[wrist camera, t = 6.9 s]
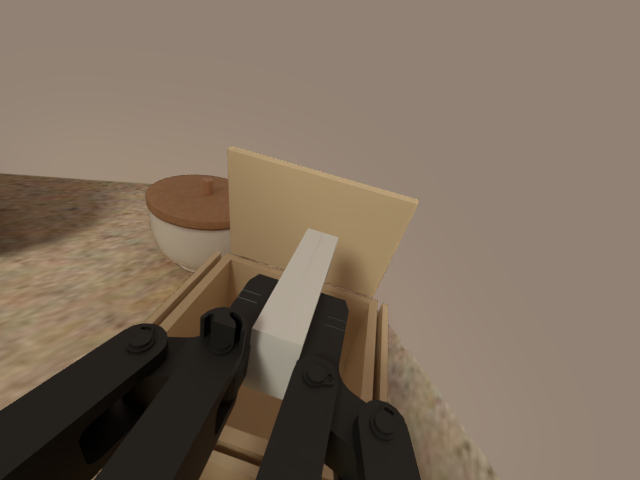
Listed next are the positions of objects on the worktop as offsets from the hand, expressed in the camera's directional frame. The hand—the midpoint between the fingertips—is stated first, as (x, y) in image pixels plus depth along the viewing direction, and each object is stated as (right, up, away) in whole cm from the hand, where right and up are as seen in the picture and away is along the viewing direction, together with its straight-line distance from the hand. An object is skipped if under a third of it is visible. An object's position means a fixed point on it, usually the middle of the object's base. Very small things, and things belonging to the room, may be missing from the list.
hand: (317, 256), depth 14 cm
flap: (-1, -2, +8) cm, 8 cm away
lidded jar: (-13, -1, +20) cm, 24 cm away
